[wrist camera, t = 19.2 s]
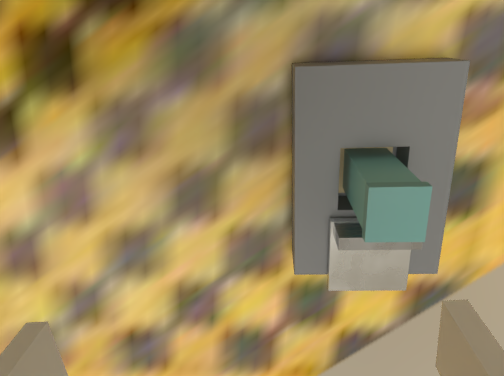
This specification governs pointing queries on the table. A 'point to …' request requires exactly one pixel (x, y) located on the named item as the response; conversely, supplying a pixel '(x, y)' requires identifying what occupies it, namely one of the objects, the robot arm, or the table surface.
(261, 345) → the table surface
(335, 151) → the socket
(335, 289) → the shutter
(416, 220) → the plug
